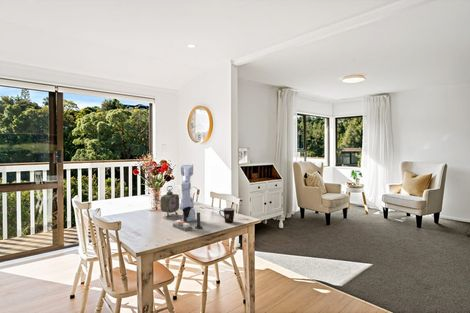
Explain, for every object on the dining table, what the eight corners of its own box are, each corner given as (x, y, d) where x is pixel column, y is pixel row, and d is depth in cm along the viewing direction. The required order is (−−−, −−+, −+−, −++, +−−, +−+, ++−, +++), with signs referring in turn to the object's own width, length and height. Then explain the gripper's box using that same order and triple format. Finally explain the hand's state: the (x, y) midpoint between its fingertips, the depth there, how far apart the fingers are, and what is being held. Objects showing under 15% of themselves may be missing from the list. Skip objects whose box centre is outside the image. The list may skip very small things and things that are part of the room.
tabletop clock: (168, 218, 228) (167, 187, 227) (159, 216, 232) (159, 186, 231) (179, 214, 241) (179, 185, 240) (171, 213, 245) (170, 184, 244)
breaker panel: (179, 224, 210) (179, 219, 210) (192, 229, 198) (192, 223, 198) (172, 226, 206) (172, 220, 205) (185, 231, 194) (185, 225, 194)
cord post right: (199, 226, 205) (199, 211, 204) (203, 228, 201) (203, 212, 201) (193, 228, 201) (193, 212, 201) (197, 229, 198) (197, 214, 197)
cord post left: (185, 221, 217) (185, 207, 217) (189, 223, 214) (189, 208, 213) (180, 223, 214) (180, 208, 213) (184, 224, 210) (183, 210, 210)
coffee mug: (237, 221, 216) (236, 209, 216) (228, 224, 210) (228, 211, 210) (226, 219, 225) (226, 206, 224) (218, 221, 219) (218, 208, 218)
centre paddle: (182, 223, 204) (182, 220, 204) (185, 224, 202) (185, 221, 201) (178, 224, 202) (178, 221, 202) (181, 225, 199) (181, 222, 199)
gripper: (186, 196, 212) (187, 214, 212) (175, 200, 198) (176, 219, 199) (195, 197, 209) (195, 215, 210) (184, 201, 196) (184, 220, 196)
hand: (186, 217), depth 204 cm, fingers closed
